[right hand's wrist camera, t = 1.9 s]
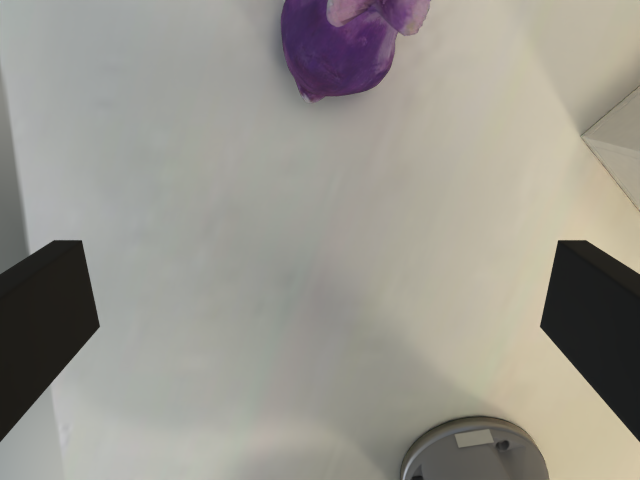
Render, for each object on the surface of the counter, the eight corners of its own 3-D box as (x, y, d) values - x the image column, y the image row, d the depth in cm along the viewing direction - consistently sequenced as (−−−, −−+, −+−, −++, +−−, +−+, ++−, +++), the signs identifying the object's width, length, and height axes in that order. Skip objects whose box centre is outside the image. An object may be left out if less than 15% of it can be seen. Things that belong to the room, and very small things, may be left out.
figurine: (389, -88, 29) (453, -228, 15) (422, 68, 33) (498, 69, 19) (257, -39, 30) (205, -130, 16) (303, 107, 34) (292, 135, 20)
